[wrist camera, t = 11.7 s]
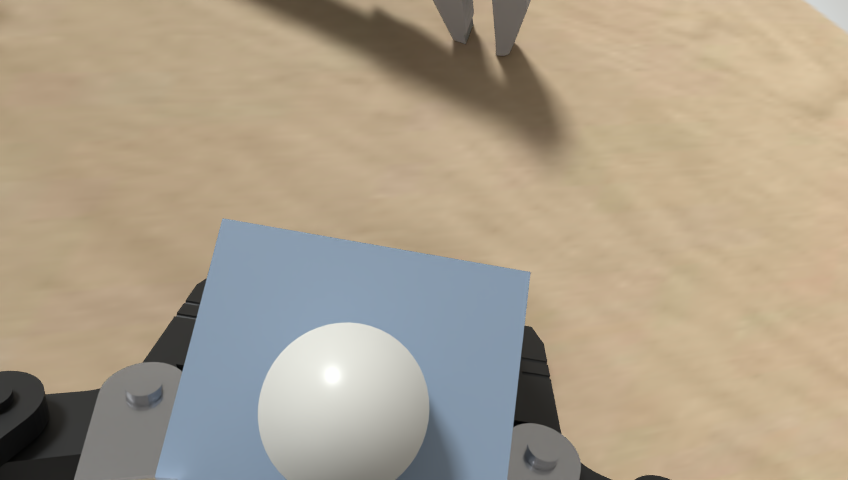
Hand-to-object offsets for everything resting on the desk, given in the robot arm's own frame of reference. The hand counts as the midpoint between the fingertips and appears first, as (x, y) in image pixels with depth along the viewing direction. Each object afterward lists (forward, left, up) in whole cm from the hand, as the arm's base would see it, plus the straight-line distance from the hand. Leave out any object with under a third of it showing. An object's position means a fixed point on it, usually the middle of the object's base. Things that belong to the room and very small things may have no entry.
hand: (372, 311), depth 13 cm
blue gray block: (-1, -2, -5) cm, 6 cm away
